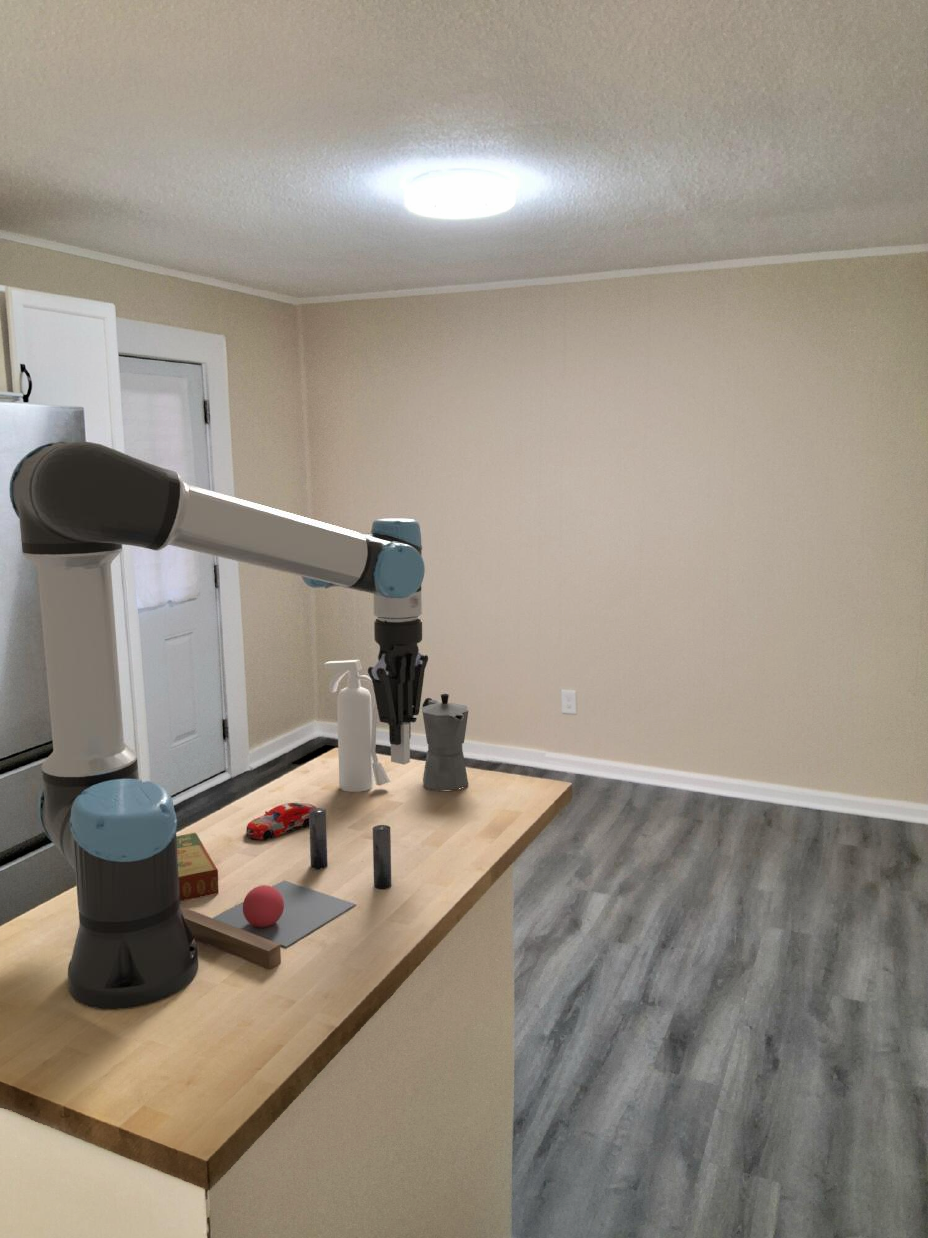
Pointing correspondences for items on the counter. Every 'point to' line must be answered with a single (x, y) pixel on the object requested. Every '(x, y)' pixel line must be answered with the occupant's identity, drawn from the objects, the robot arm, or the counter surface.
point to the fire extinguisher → (356, 729)
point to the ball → (263, 906)
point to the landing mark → (292, 914)
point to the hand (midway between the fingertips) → (400, 761)
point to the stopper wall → (233, 940)
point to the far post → (318, 838)
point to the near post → (382, 857)
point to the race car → (280, 821)
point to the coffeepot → (444, 744)
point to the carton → (195, 868)
